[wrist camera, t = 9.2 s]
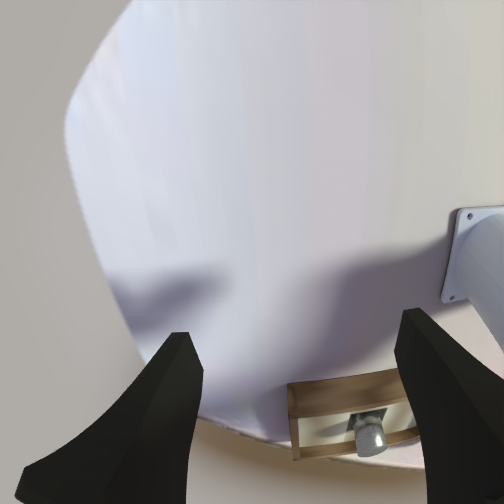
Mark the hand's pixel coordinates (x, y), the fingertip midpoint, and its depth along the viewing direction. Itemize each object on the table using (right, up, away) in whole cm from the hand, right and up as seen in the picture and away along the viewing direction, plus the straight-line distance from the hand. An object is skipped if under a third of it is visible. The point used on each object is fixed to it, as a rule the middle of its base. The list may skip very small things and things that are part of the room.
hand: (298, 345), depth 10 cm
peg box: (+10, -13, +19) cm, 25 cm away
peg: (+10, -13, +19) cm, 25 cm away
